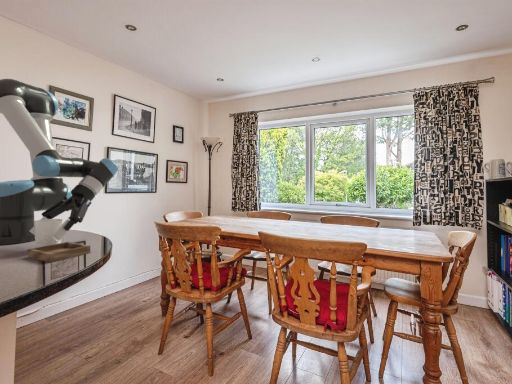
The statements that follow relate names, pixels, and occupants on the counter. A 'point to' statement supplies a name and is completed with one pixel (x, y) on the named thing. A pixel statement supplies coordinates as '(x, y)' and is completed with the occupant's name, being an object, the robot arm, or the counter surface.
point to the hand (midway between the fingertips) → (44, 235)
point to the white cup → (46, 232)
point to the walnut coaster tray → (58, 251)
